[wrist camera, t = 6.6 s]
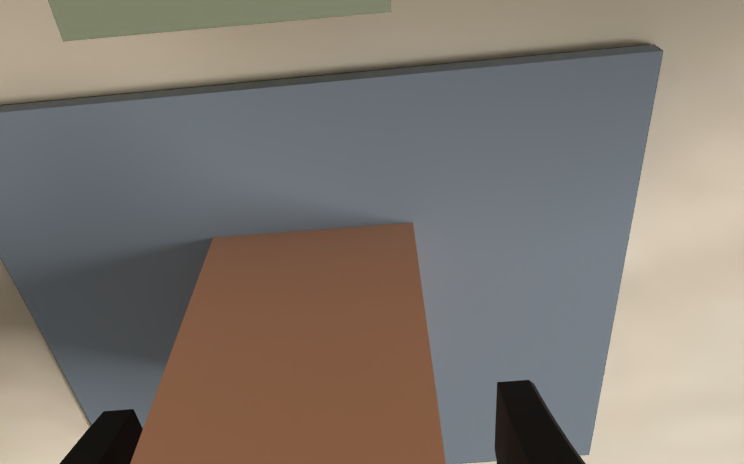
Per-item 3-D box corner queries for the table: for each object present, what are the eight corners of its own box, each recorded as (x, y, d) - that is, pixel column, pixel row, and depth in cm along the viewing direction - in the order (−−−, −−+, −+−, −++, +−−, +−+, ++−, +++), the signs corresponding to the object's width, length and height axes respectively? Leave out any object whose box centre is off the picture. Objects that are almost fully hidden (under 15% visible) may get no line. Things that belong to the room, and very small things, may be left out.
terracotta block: (412, 222, 13) (451, 501, 7) (419, 364, 15) (451, 652, 10) (213, 237, 13) (108, 521, 8) (251, 376, 15) (193, 666, 10)
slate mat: (654, 44, 11) (663, 50, 11) (584, 443, 18) (588, 454, 18) (-63, 111, 12) (-76, 119, 11) (129, 475, 18) (125, 487, 18)
